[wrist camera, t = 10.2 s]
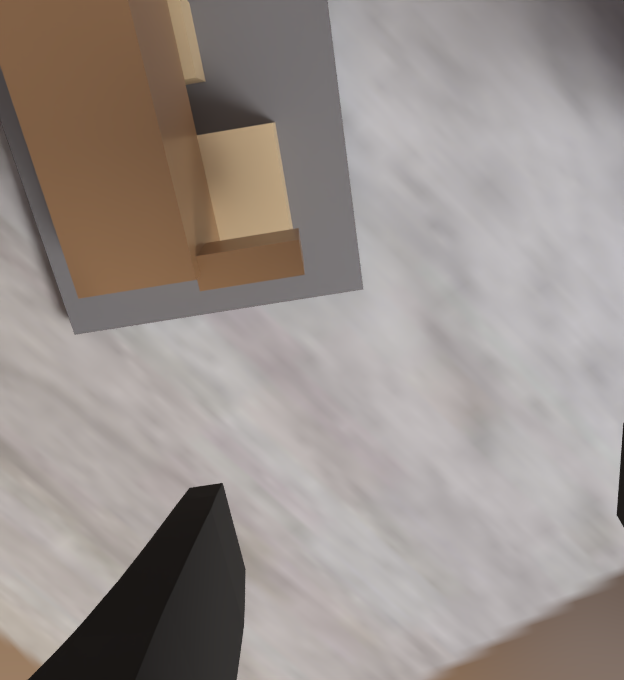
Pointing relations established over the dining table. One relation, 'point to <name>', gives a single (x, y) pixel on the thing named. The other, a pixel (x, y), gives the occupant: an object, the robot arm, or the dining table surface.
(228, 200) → the gray tray with blocks
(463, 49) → the dining table surface
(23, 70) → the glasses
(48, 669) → the robot arm
